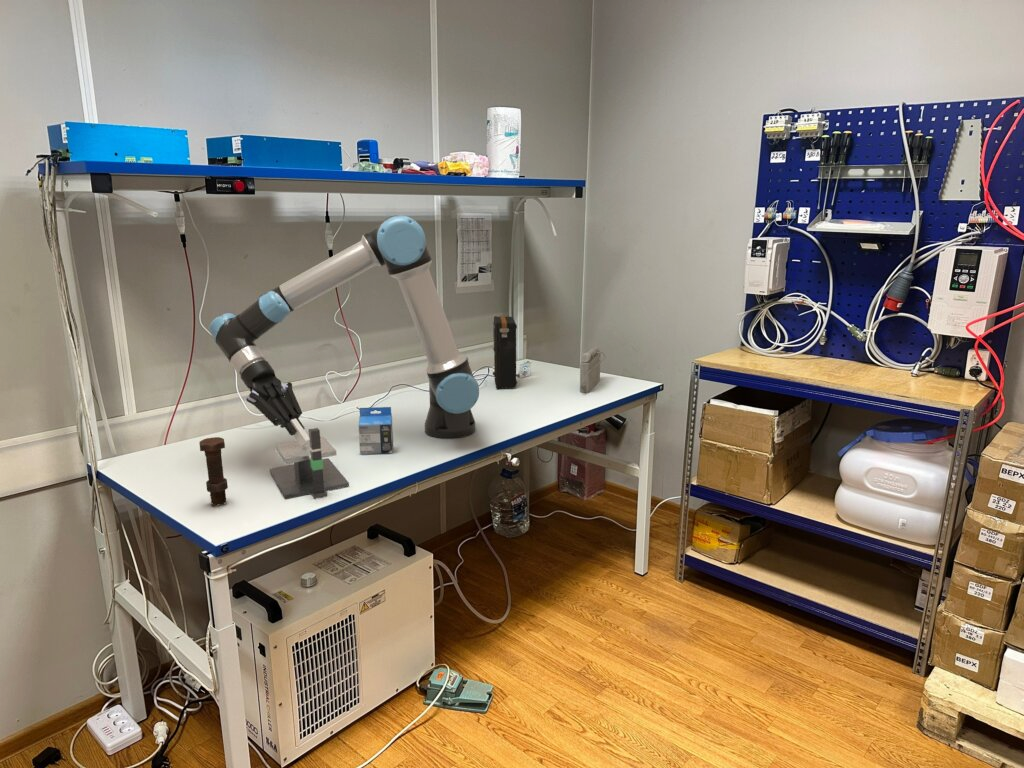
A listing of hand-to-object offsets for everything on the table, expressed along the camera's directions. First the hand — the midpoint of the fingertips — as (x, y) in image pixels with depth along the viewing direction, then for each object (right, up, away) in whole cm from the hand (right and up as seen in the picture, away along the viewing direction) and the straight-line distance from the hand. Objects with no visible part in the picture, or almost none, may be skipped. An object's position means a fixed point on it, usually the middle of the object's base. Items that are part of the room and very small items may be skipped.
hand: (305, 443), depth 168 cm
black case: (+47, +14, +91) cm, 104 cm away
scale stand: (+1, -9, +1) cm, 9 cm away
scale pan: (+1, -8, +1) cm, 8 cm away
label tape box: (+13, -4, +21) cm, 25 cm away
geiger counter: (+79, +13, +86) cm, 117 cm away
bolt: (-16, -13, -11) cm, 24 cm away
